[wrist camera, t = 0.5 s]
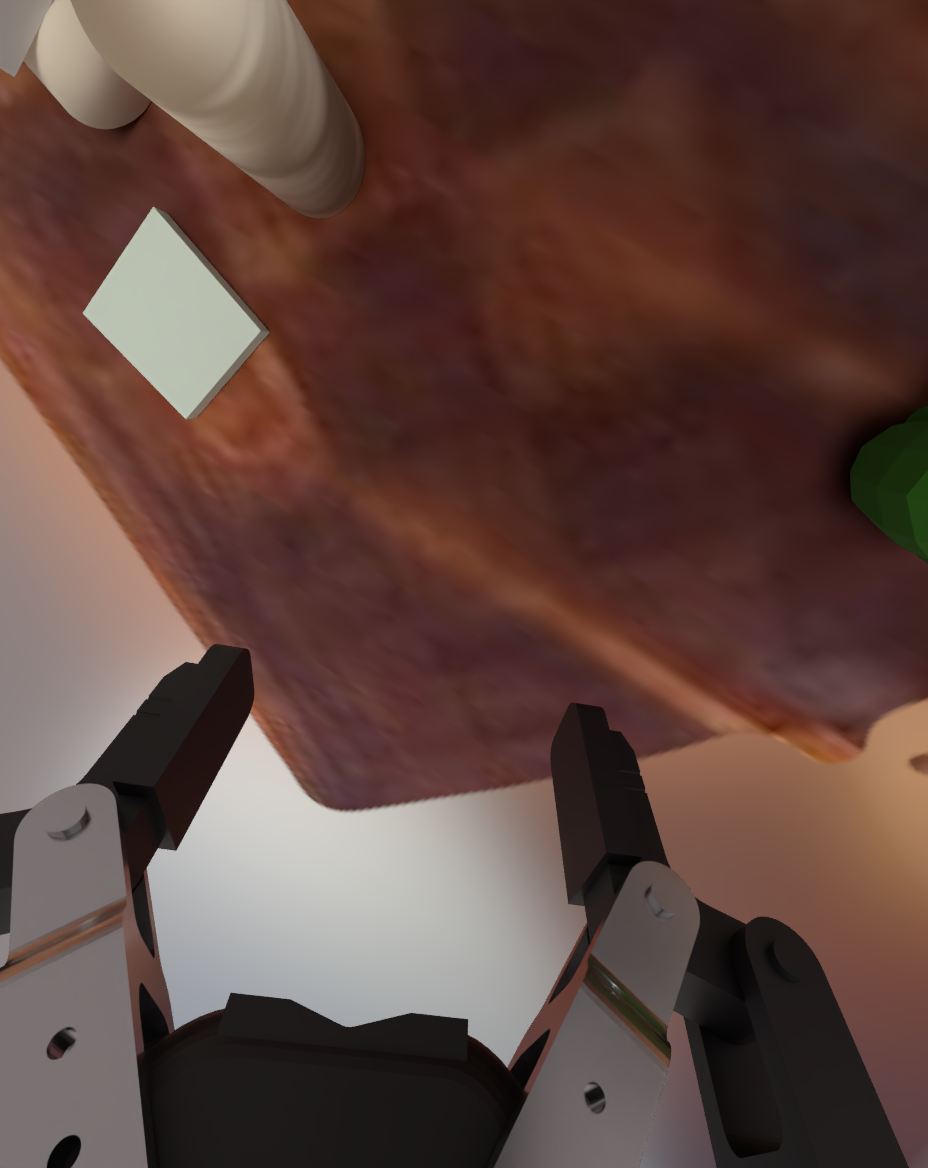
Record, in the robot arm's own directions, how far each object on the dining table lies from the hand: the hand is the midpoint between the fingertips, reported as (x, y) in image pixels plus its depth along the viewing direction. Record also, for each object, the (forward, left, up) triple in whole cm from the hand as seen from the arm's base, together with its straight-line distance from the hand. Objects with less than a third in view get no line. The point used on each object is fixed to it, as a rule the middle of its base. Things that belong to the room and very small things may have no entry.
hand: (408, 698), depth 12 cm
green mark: (+6, -18, -19) cm, 26 cm away
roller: (-5, -18, -19) cm, 26 cm away
